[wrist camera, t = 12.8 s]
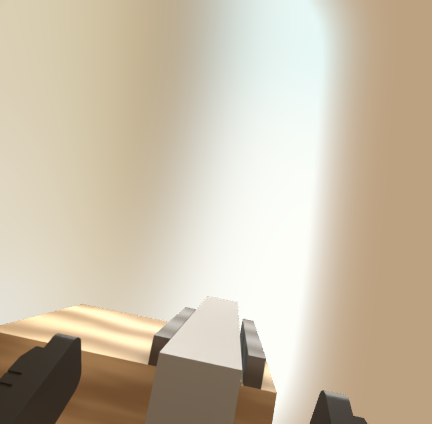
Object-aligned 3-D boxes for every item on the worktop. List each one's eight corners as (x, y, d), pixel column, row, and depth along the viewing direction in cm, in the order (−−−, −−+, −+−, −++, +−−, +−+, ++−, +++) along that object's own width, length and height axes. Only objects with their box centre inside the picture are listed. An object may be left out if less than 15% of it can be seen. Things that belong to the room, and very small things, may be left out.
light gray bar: (226, 462, 14) (242, 370, 14) (141, 442, 14) (159, 352, 14) (231, 333, 39) (237, 302, 40) (201, 326, 39) (207, 296, 40)
